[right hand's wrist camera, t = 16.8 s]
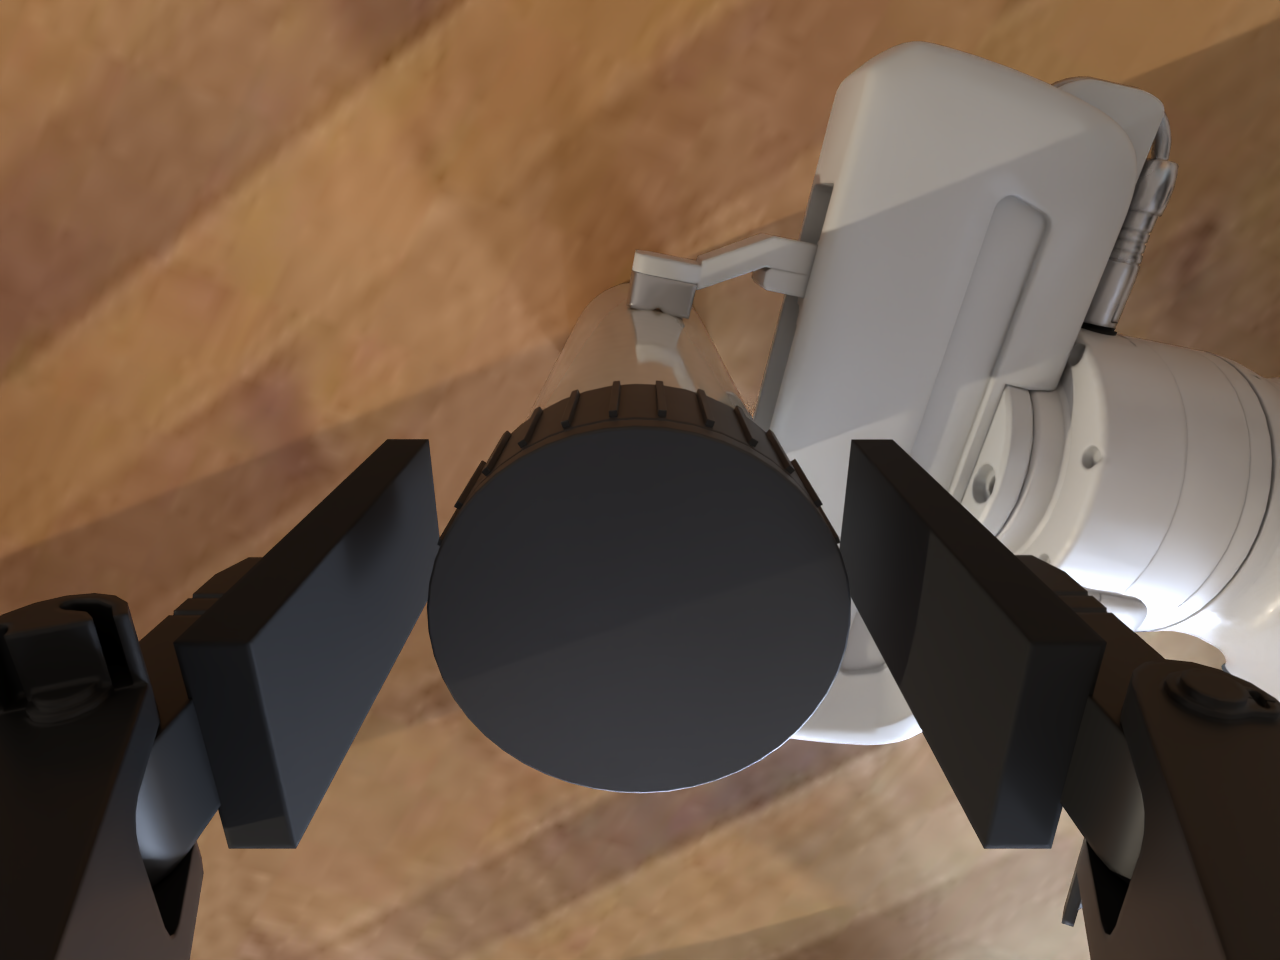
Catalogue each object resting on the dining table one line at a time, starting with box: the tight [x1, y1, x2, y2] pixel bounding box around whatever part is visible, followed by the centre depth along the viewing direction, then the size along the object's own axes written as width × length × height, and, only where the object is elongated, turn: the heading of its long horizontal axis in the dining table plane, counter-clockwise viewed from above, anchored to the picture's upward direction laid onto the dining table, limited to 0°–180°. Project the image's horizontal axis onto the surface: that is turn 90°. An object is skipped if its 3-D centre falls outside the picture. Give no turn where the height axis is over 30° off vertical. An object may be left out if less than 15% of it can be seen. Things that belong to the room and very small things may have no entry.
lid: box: [427, 381, 851, 793], centre depth 11 cm, size 6×6×2 cm
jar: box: [526, 282, 754, 422], centre depth 19 cm, size 5×5×18 cm
